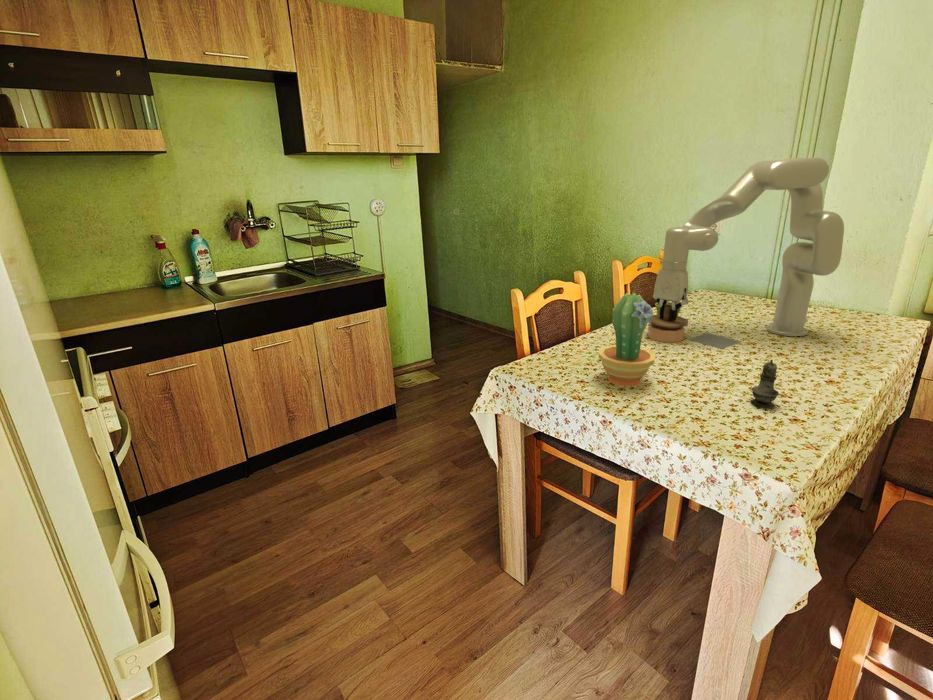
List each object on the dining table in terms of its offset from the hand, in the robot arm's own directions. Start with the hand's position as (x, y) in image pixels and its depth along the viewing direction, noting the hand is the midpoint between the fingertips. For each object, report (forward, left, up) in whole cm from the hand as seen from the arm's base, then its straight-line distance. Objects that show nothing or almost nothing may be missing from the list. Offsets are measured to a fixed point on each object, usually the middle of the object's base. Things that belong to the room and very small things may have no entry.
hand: (667, 318), depth 166 cm
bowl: (0, 0, -8) cm, 8 cm away
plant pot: (-13, -9, -8) cm, 18 cm away
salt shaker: (+23, +45, -8) cm, 51 cm away
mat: (-10, +12, -8) cm, 17 cm away
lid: (0, 0, -1) cm, 1 cm away
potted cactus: (+39, +15, -8) cm, 43 cm away
